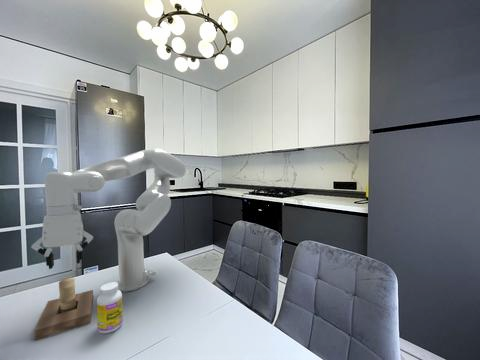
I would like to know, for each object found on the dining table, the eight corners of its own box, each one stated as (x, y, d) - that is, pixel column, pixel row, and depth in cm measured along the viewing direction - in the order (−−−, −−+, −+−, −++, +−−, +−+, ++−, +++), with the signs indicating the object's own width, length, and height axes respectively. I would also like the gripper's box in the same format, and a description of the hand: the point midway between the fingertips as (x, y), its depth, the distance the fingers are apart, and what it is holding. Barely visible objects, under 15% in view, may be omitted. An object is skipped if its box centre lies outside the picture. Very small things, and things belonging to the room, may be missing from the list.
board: (93, 297, 82) (93, 289, 82) (90, 323, 68) (90, 314, 68) (48, 309, 75) (47, 301, 75) (35, 340, 61) (34, 330, 61)
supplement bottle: (105, 338, 62) (102, 294, 61) (93, 329, 66) (91, 288, 65) (127, 323, 68) (125, 283, 67) (116, 316, 71) (114, 278, 71)
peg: (77, 310, 74) (75, 276, 74) (75, 317, 71) (73, 281, 70) (62, 314, 72) (59, 279, 72) (59, 322, 69) (57, 285, 68)
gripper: (95, 205, 77) (97, 254, 78) (29, 211, 68) (33, 266, 69) (94, 209, 71) (96, 262, 72) (21, 215, 62) (25, 276, 63)
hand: (65, 264), depth 71 cm, fingers open, 6 cm apart
